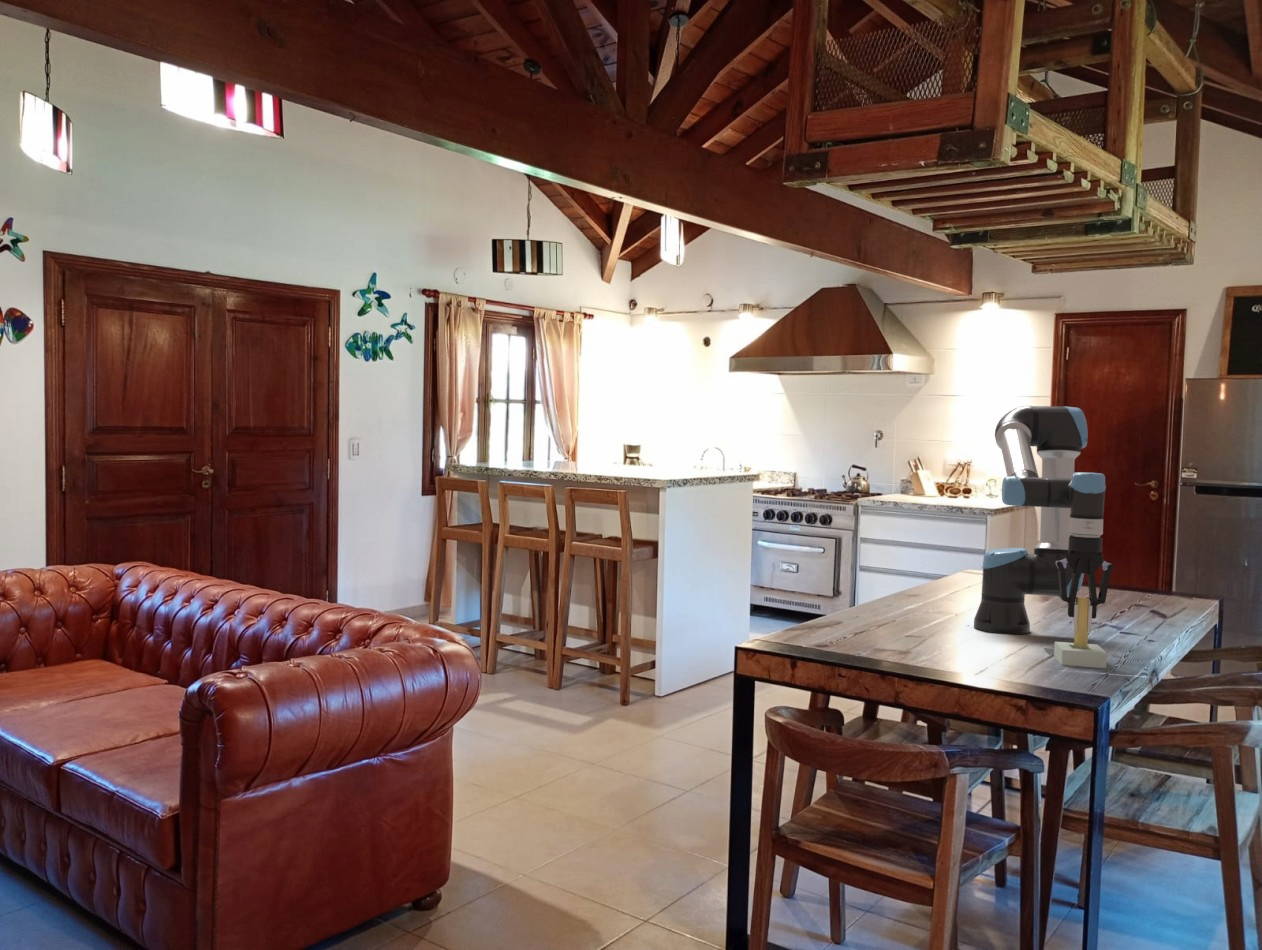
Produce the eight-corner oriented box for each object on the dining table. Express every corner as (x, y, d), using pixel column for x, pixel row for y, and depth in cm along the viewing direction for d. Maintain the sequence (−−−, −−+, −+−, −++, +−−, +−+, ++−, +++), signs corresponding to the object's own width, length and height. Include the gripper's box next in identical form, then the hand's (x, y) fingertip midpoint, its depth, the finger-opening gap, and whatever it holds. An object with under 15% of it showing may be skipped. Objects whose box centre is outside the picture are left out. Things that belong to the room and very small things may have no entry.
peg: (1075, 647, 246) (1077, 598, 246) (1072, 644, 249) (1074, 596, 249) (1088, 647, 245) (1090, 599, 245) (1085, 645, 248) (1087, 597, 248)
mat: (1048, 656, 255) (1049, 654, 255) (1043, 649, 263) (1043, 647, 263) (1100, 659, 252) (1100, 658, 252) (1092, 653, 260) (1092, 651, 260)
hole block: (1061, 666, 244) (1062, 649, 244) (1053, 657, 254) (1054, 641, 253) (1106, 669, 242) (1107, 653, 241) (1096, 660, 251) (1097, 644, 251)
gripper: (1054, 535, 244) (1050, 631, 245) (1124, 538, 241) (1119, 636, 242) (1049, 532, 251) (1044, 625, 253) (1116, 535, 248) (1111, 630, 249)
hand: (1081, 630), depth 247 cm, fingers closed on peg, 2 cm apart
